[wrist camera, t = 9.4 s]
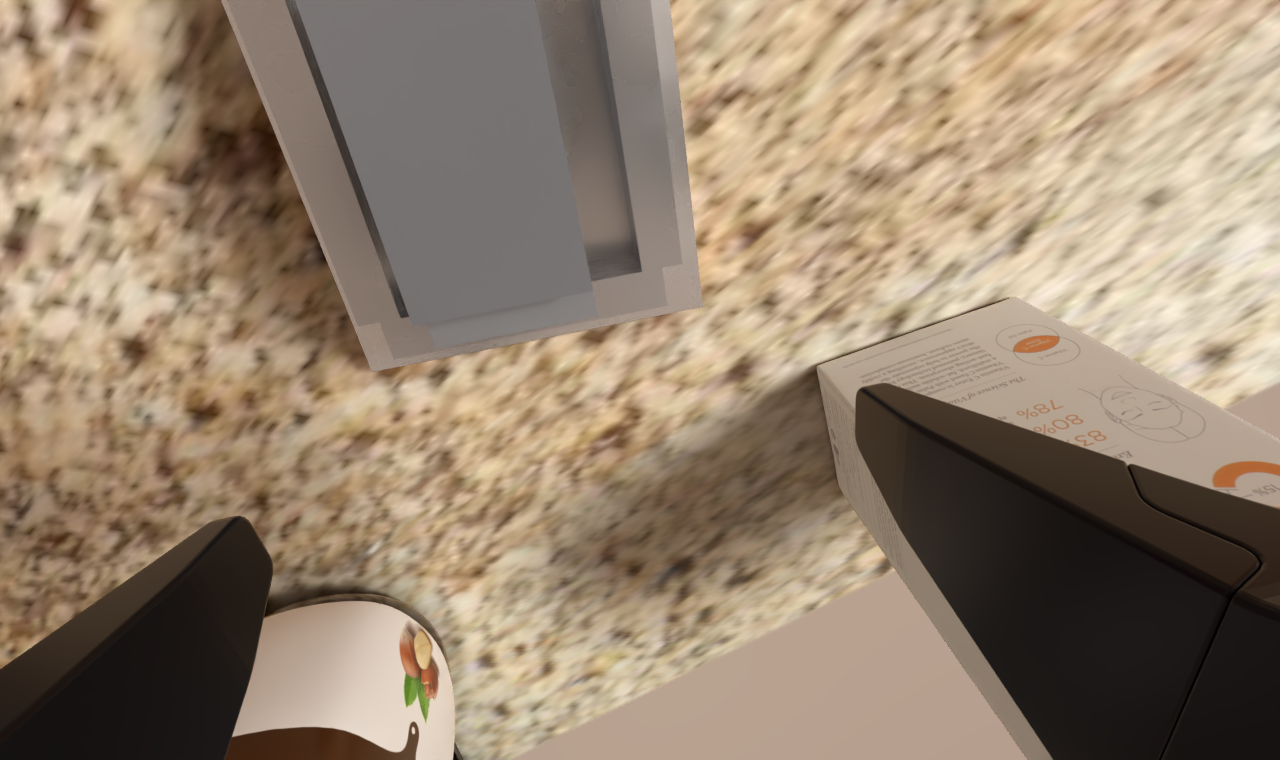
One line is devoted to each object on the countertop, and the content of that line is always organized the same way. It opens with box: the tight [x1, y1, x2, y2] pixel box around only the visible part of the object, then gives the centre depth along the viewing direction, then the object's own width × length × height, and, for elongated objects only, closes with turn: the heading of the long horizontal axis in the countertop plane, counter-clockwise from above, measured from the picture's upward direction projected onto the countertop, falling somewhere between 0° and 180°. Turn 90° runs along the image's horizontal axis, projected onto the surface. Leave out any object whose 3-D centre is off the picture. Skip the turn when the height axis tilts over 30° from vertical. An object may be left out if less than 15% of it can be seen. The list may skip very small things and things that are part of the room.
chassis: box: [221, 0, 703, 372], centre depth 17 cm, size 14×11×3 cm
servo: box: [295, 0, 598, 349], centre depth 15 cm, size 10×4×6 cm, turn 9°
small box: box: [817, 297, 1280, 760], centre depth 20 cm, size 8×6×13 cm
